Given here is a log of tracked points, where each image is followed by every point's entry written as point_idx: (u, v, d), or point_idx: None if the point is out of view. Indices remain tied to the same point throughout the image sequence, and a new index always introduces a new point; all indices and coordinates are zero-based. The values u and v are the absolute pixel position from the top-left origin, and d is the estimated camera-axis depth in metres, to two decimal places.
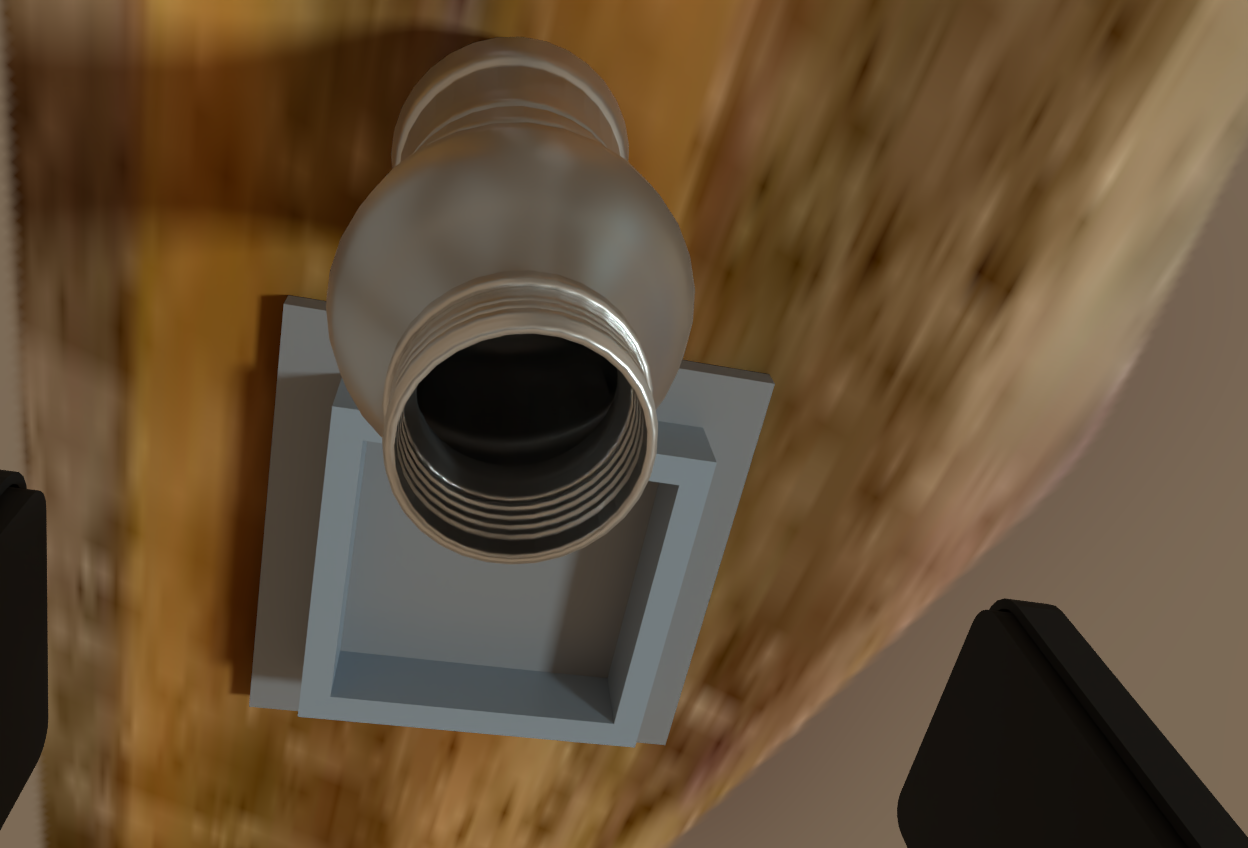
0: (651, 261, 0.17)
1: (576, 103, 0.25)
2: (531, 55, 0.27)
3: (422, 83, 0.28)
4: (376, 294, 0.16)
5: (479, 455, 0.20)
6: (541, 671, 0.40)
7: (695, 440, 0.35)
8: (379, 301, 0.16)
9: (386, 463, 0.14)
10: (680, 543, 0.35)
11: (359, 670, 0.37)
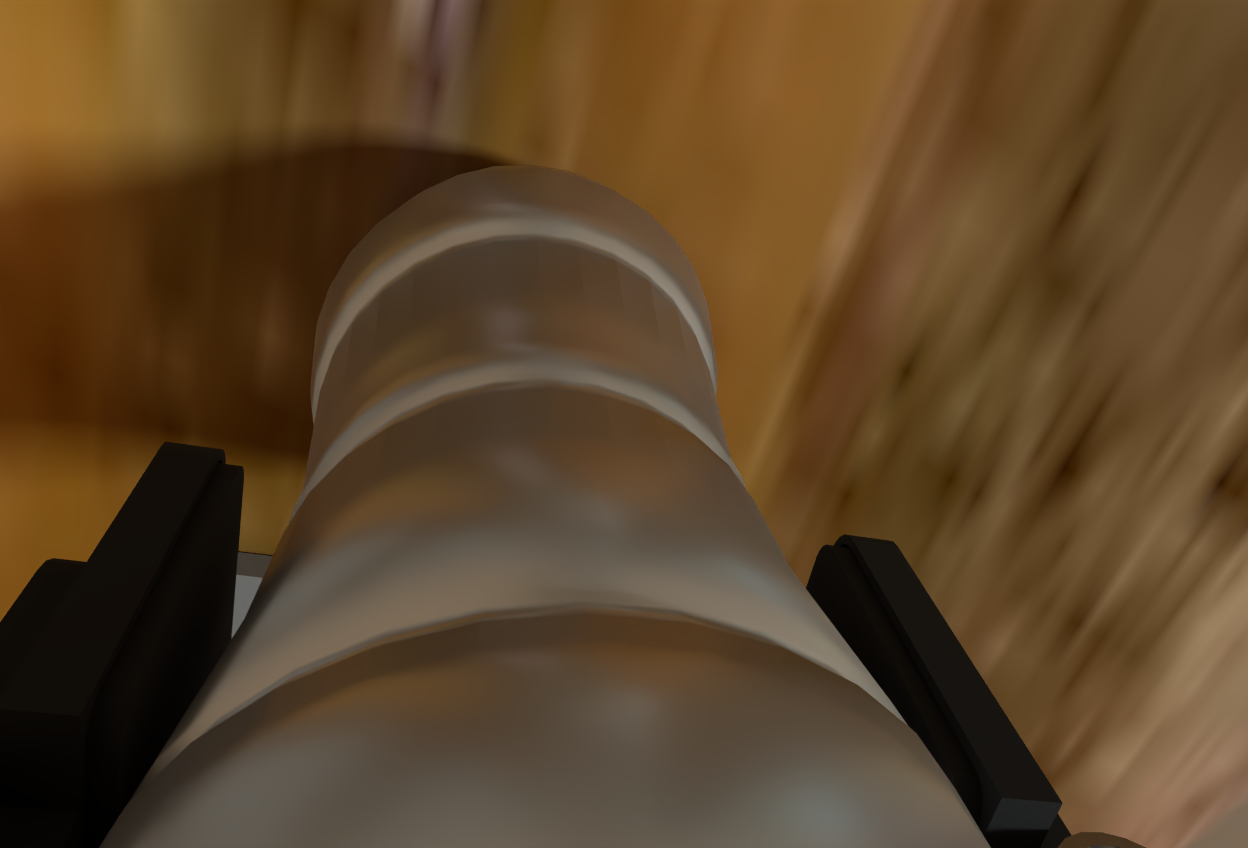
0: None
1: (645, 325, 0.13)
2: (554, 212, 0.15)
3: (361, 254, 0.16)
4: None
5: None
6: None
7: None
8: None
9: None
10: None
11: None
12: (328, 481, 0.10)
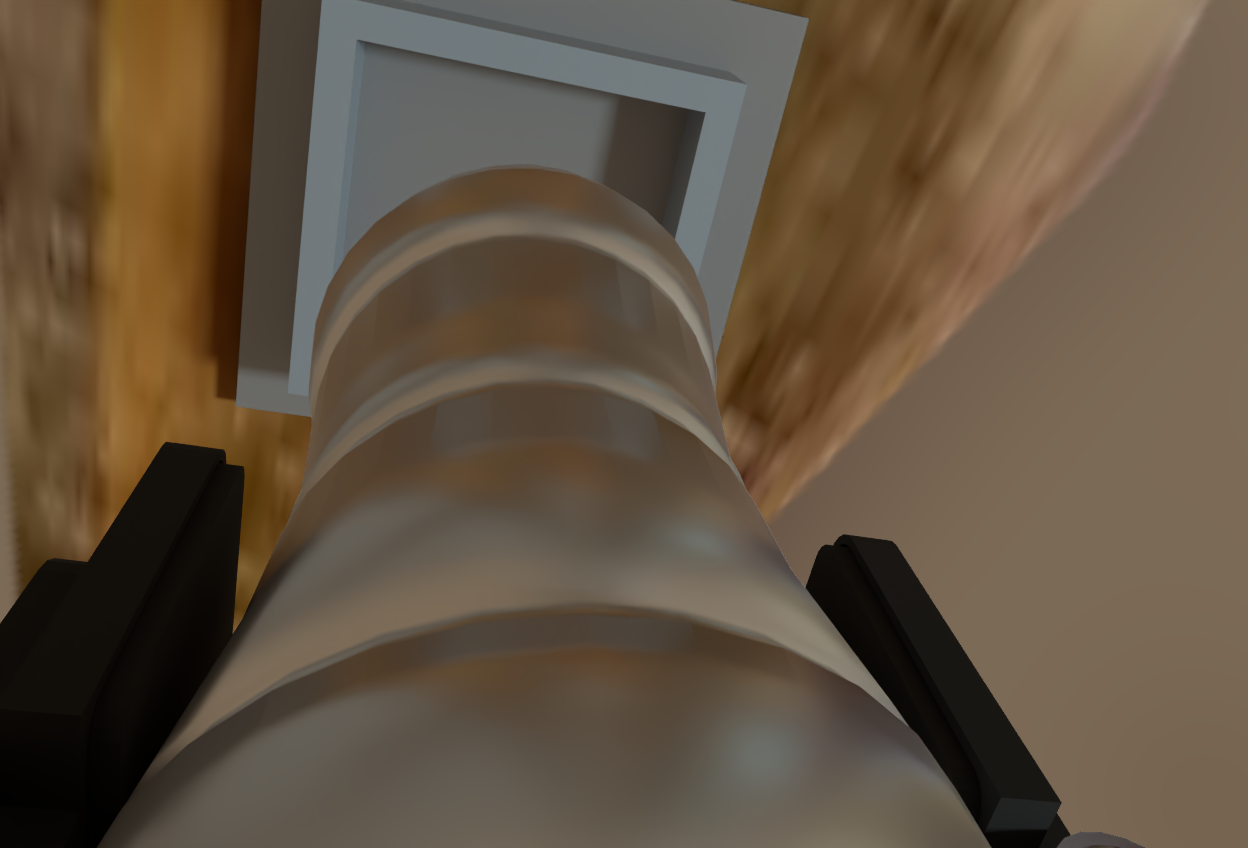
0: None
1: (644, 324, 0.13)
2: (553, 211, 0.15)
3: (360, 253, 0.16)
4: None
5: None
6: None
7: (722, 74, 0.32)
8: None
9: None
10: (706, 187, 0.32)
11: None
12: (326, 481, 0.10)
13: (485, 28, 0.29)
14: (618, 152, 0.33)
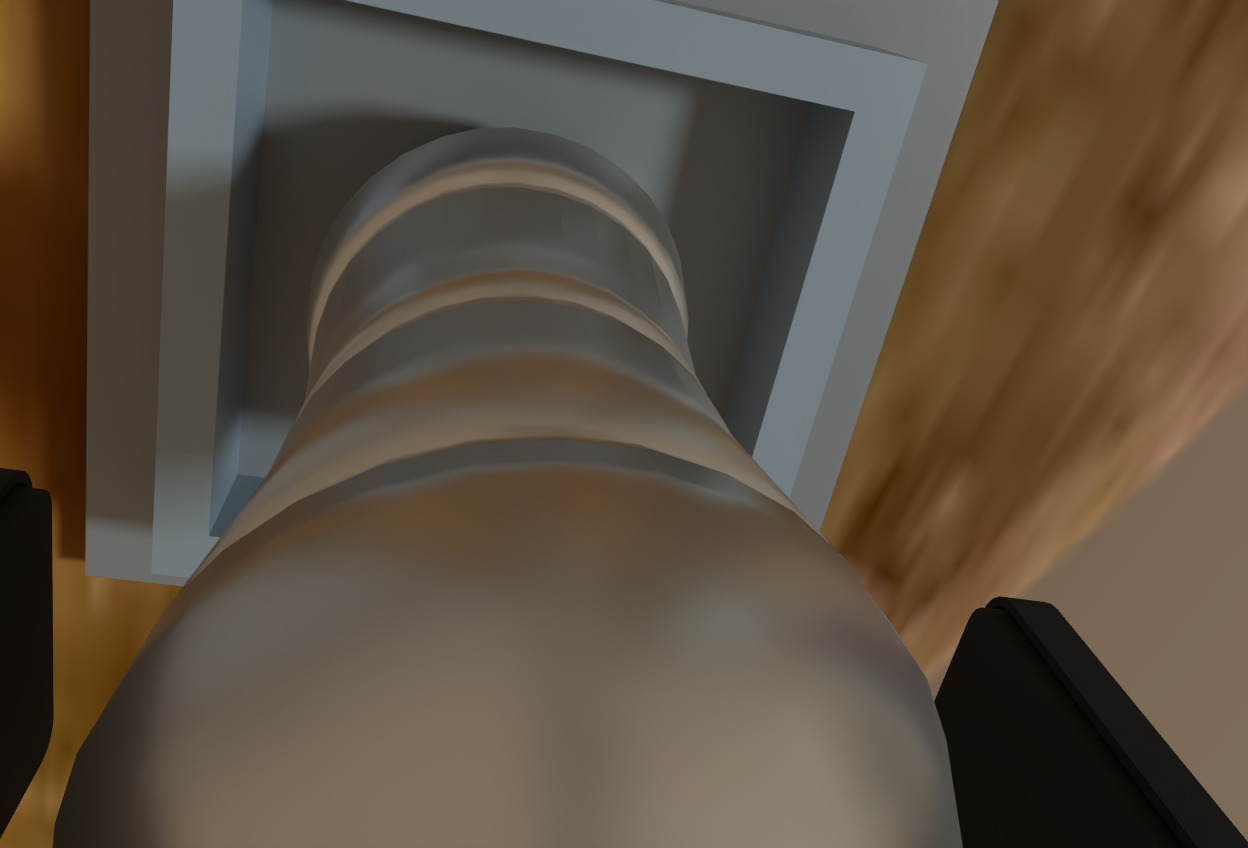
0: None
1: (619, 261, 0.14)
2: (536, 165, 0.16)
3: (355, 205, 0.17)
4: None
5: None
6: None
7: (875, 48, 0.19)
8: None
9: None
10: (848, 239, 0.19)
11: None
12: (331, 381, 0.11)
13: None
14: (693, 179, 0.21)
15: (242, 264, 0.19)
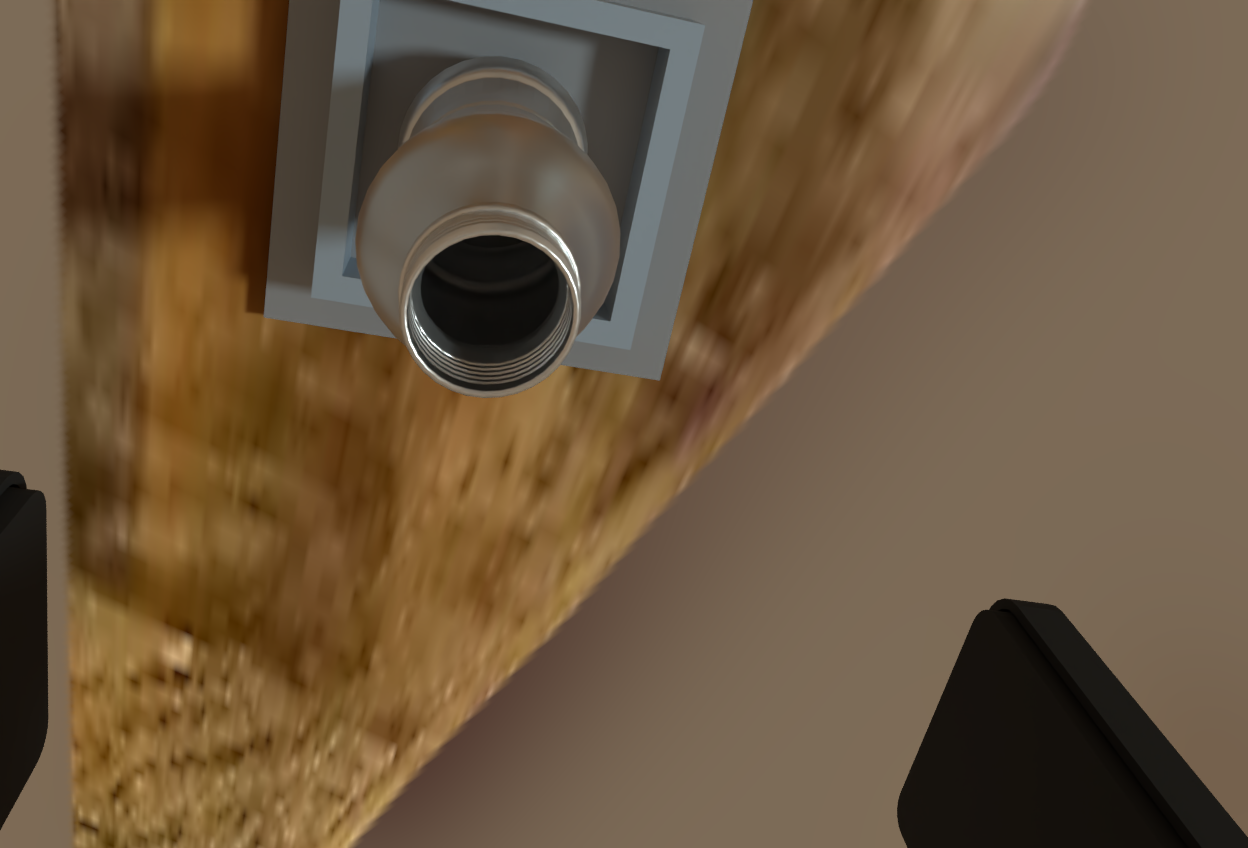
0: (585, 205, 0.24)
1: (542, 105, 0.32)
2: (509, 70, 0.34)
3: (423, 91, 0.35)
4: (393, 224, 0.23)
5: None
6: None
7: (685, 19, 0.37)
8: (394, 228, 0.23)
9: (401, 323, 0.21)
10: (671, 115, 0.37)
11: None
12: None
13: None
14: (597, 90, 0.39)
15: (362, 131, 0.37)
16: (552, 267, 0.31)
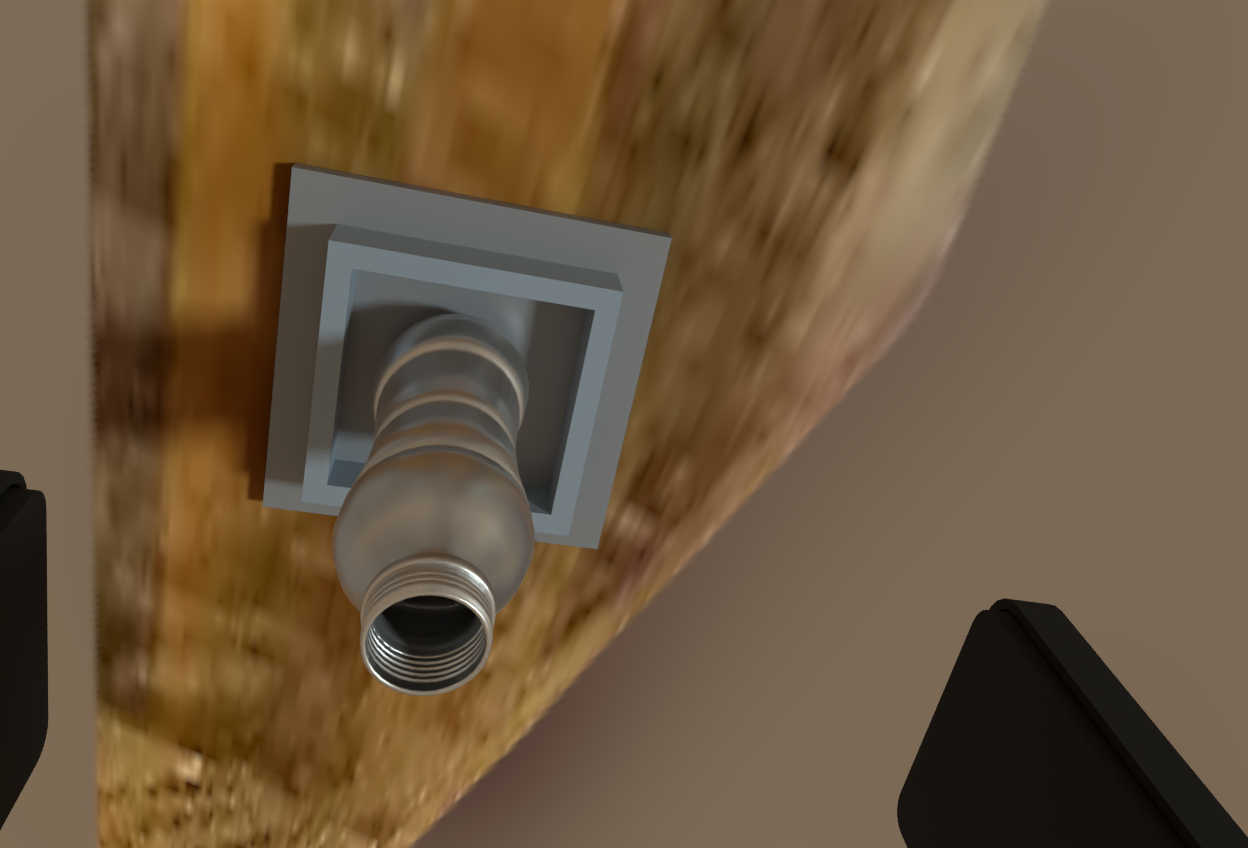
0: (503, 529, 0.32)
1: (485, 382, 0.40)
2: (461, 339, 0.42)
3: (392, 351, 0.43)
4: (358, 550, 0.31)
5: (417, 616, 0.35)
6: None
7: (609, 279, 0.45)
8: (359, 553, 0.31)
9: (361, 651, 0.29)
10: (598, 359, 0.45)
11: (350, 471, 0.48)
12: (387, 426, 0.37)
13: (440, 259, 0.42)
14: (539, 328, 0.47)
15: (343, 369, 0.45)
16: None
